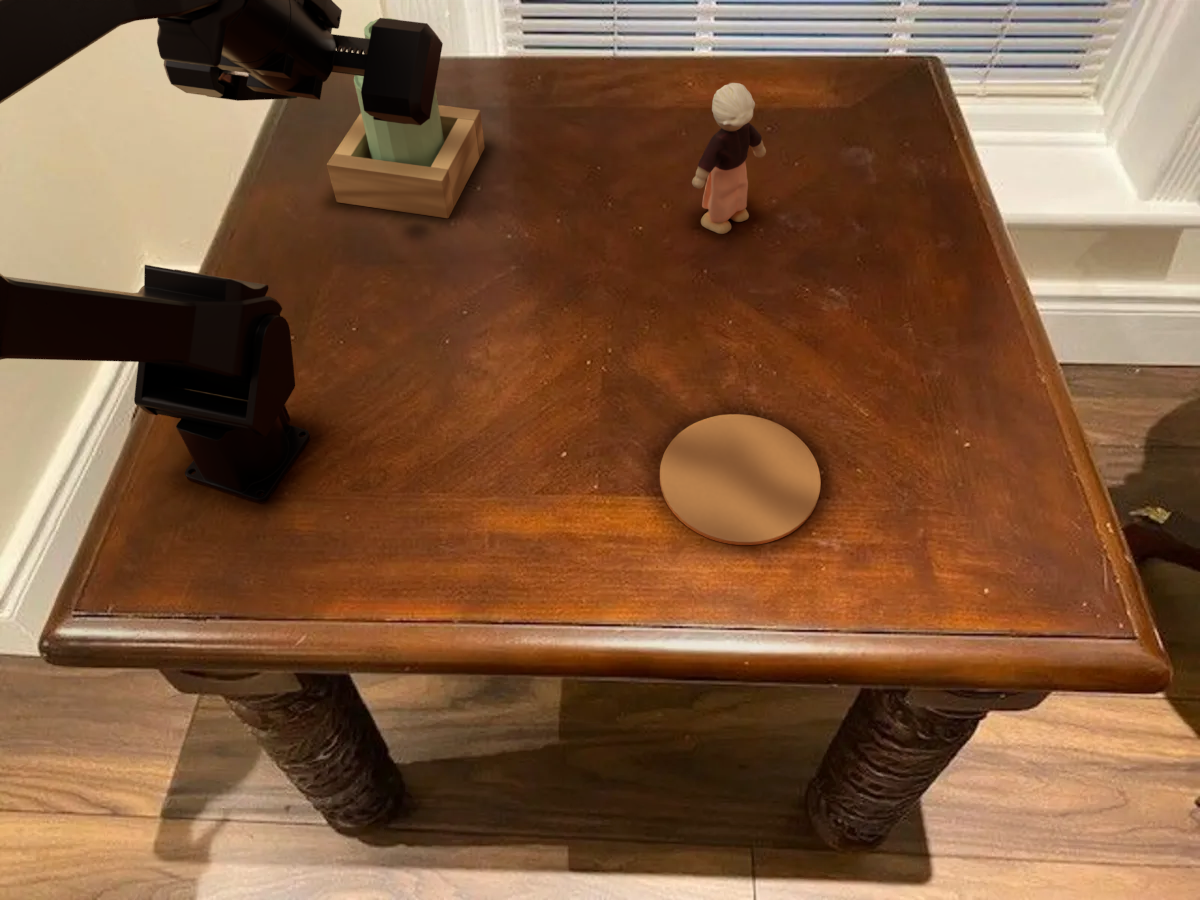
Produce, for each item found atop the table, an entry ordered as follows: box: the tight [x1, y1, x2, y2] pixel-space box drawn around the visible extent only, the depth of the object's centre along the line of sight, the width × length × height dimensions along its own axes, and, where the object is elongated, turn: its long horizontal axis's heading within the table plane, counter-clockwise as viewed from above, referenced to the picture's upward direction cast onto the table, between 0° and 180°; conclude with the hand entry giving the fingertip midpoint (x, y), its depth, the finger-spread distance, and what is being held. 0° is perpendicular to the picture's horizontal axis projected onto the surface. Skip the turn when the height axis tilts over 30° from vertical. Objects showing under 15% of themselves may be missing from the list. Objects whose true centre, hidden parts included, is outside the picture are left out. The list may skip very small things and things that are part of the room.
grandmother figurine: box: [691, 82, 767, 235], centre depth 83 cm, size 8×4×13 cm, turn 141°
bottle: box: [353, 17, 444, 167], centre depth 88 cm, size 6×6×14 cm
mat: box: [659, 413, 822, 546], centre depth 71 cm, size 11×11×1 cm
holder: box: [326, 104, 486, 219], centre depth 92 cm, size 10×10×4 cm
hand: (352, 98), depth 78 cm, fingers open, 9 cm apart
